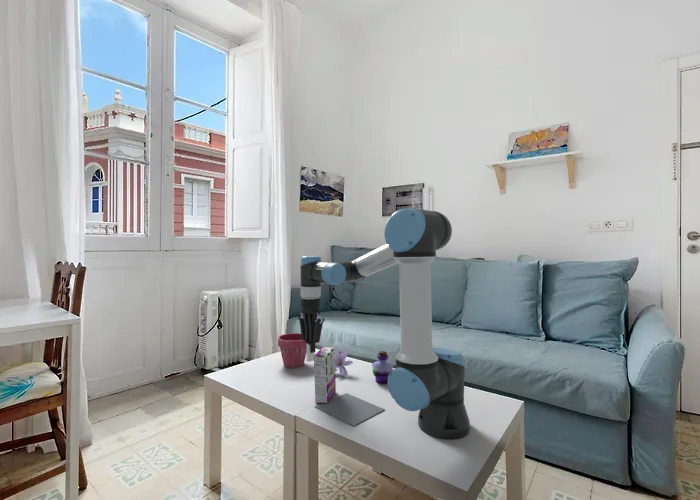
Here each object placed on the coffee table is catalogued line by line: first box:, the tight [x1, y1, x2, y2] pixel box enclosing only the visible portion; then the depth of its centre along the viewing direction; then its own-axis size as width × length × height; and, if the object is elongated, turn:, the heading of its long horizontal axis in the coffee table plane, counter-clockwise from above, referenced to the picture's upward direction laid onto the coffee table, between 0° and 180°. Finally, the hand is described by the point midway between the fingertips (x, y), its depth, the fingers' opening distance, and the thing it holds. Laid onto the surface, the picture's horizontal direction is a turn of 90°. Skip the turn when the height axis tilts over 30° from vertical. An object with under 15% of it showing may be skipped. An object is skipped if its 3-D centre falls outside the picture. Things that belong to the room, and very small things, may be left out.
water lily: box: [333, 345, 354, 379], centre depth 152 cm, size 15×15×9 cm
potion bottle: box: [371, 350, 394, 385], centre depth 142 cm, size 9×9×12 cm
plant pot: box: [277, 332, 307, 369], centre depth 162 cm, size 14×14×13 cm
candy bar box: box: [313, 346, 337, 404], centre depth 127 cm, size 11×5×16 cm, turn 168°
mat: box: [314, 392, 386, 427], centre depth 119 cm, size 18×15×1 cm
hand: (310, 360), depth 133 cm, fingers closed
